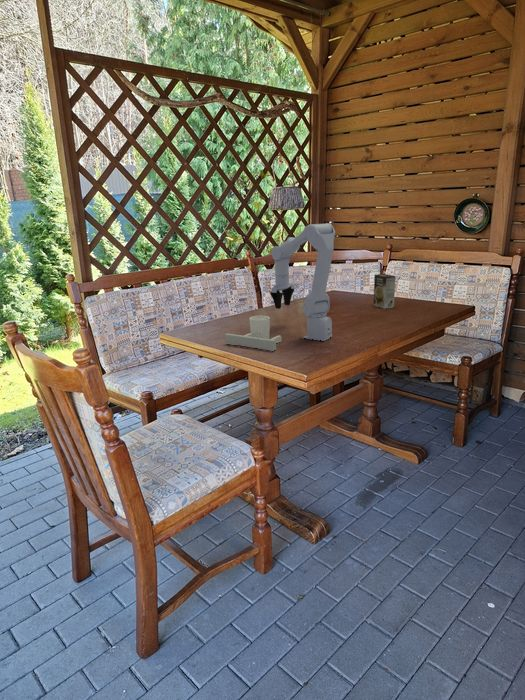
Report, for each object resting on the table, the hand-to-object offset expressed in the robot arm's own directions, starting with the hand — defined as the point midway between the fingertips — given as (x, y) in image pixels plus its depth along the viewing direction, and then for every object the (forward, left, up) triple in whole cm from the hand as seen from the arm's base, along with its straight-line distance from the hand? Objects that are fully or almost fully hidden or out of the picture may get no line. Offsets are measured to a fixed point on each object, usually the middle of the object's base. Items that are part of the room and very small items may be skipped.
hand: (282, 306), depth 203 cm
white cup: (-4, +24, -10) cm, 26 cm away
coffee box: (-24, -60, -10) cm, 65 cm away
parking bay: (-4, +25, -9) cm, 27 cm away
